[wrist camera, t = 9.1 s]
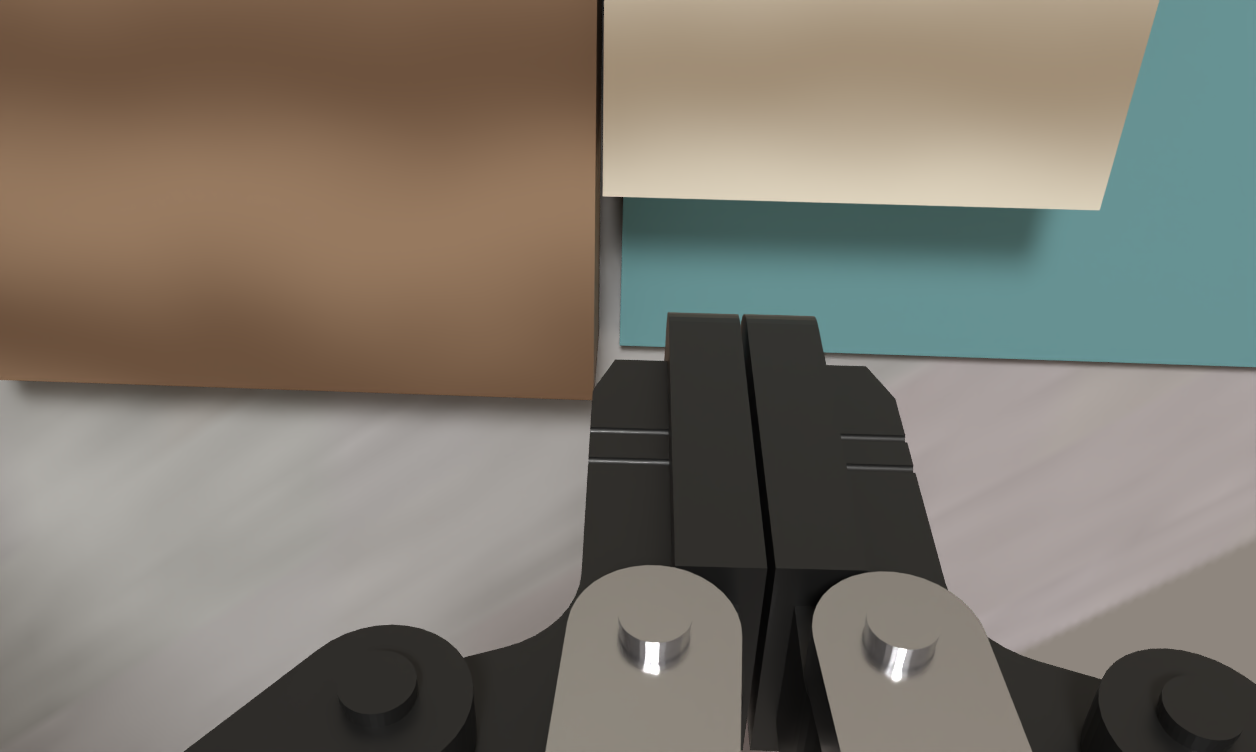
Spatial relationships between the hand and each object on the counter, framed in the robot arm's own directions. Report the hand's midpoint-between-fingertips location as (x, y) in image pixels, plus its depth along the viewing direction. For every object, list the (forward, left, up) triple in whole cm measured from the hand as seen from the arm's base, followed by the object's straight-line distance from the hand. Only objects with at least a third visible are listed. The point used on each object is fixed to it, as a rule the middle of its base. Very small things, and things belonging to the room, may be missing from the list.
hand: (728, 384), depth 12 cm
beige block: (0, +3, -12) cm, 13 cm away
